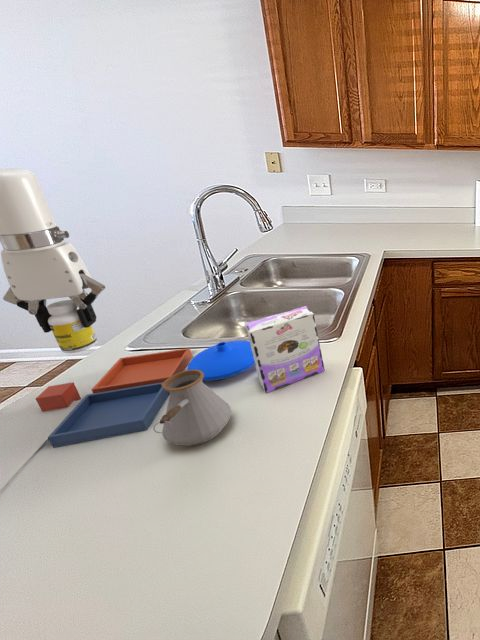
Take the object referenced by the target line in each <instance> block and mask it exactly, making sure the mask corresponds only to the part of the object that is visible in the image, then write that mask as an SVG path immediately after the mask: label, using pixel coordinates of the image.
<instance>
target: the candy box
mask: <svg viewBox="0 0 480 640" xmlns="http://www.w3.org/2000/svg"><path fill="white" fill-rule="evenodd" d="M244 326H245V330H246V333H247V338H248V341H249V342H250V345H251V349H252V353H253V357H254V361H255V364H254V365H255V369H256V372H257V376H258V380H259V384H260V385H261V387H262V389H263V391H264V394H268V393H271V392H274V391H277V390H278V389H281V388H284V387H286V386H288V385H291V384H294V383H298V382H299V381H301V380H304V379H306V378H309V377H311V376H314V375H316V374H320V373H322V372H324V371H325V364H324V359H323V355H322V349H321V345H320V339H319V335H318V328H317V324H316V318H315V313H314V312H313V311H311V309H310V308H309V307H308V306H307V305H303V306H301V307H297V308H294V309H291V310H287V311H283V312H280V313H276V314H272V315H268V316H265V317H263V318H258V319H254V320H252V321H251V320H250V321H247V322H244Z"/></svg>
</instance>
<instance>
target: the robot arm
mask: <svg viewBox="0 0 480 640" xmlns="http://www.w3.org/2000/svg"><path fill="white" fill-rule="evenodd" d="M68 238H70V233H69V231H67V230H61V229H60V227H59V226H58V224H57V222H56V219H55V218H54V216H53V213H52V211H51V208H50V205H49V202H48V201H47V199H46V195H45V194H44V191H43V189H42V186H41V184H40V182H39V179H38V177H37V176H36V174H35V173H33V172H32V171H31V170H29V169H27V168H0V245H1V246H2V250H0V257H1V263H2V267H3V271H4V274H5V278H6V279H7V282H8V285H9V287H8V290H7V291H6V292H5V294H4V295H3V297H2V300H3V301H4V302H7V303H9V304H11V305H16V306H17V307H18V308H20V309H22V310H25V311H27V312H28V314H30V315H32V316H34V317H35V318H36V319H35V320H36V321H37V323H38V325H39V328H41V329H42V331H43V333H45V334H46V333H50V332H52V330H51V328H50V326H49V323H48V319H49V317H50V316H52V315H51V314H50V313H49V312H48V310H47V300H52V299H60V298H61V299H62V298H69V300H72V301H73V302H74V303H75V304H76V305H77V306H78V308H77V309H78V310H77V314H78V316H79V318H80V321H81V323H82V325H83V327H85V328H87V327H90V326H91V327H92V325H93V324H95V323H96V322H97V315H96V312H95V309H94V307H93V305H92V304H93V303H94V302H95V300H96V299H97V298H98V297H99V295H100V294H101V293H103V291H105V289H106V286H105V284H103V283H101V282H99V281H98V280H95V279H94V278H92V275H91V273H90V272H89V270H88V268H87V265H86V264H85V262H84V261H83V259H82V257H81V255H80V254H79V252H78V251H77V249H76V248H75V247H74V245H73V244H72V243H71V242H70V241H64V240H65V239H68ZM86 289H90V292H89V293H88V292H87V291H86Z"/></svg>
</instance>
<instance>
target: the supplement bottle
mask: <svg viewBox="0 0 480 640" xmlns="http://www.w3.org/2000/svg"><path fill="white" fill-rule="evenodd" d="M46 307H47V310H48V312H49V313H50V314H51V315H52V316H50V317H49V319H48V323H49V326H50V328H51V332H52V334H53V337H54V338H55V341H56V342H57V344H58V347H59V348H60V350H61V352H62V353H65V354H75V353H80V352H83V351H86V350H88V349H91V348H92V347H94V346H95V345H97V343H98V339H97V336H96V334H95V331H94V329H93V327H92V325H91V326H90V327H87V328H85V327H83V325H82V323H81V321H80V318H79V316H78V314H77V310H78V309H79V307H78V306H77V305H76V304H75V303H74V302H73V301H72V300H71V299H64V300H59V301H54V302H52V303H50V304H48V305H46Z"/></svg>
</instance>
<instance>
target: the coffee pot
mask: <svg viewBox="0 0 480 640" xmlns="http://www.w3.org/2000/svg"><path fill="white" fill-rule="evenodd" d="M203 377H204V373H203V372H202V371H201V370H196V369H195V370H186V369H185V370H184V371H183V372H180V373H177V374H175V375H173V376H171V377H170V378H168V379H167V380H165V381H164V382H163V383H162V384H161V386H162V387H163V388H164V389H165V390H167V391H169V392H170V393H169V398H168V402H167V408H166V412H165V414H163V415H162V416H161V418H160V420H159V422H157V423H156V424H154V426H153V431H154V433H157V434H161V435H162V437H163V439H164V440H165V441H167V442H169V443H170V444H172V445H175V446H181V447H183V446H185V447H192V446H199V445H201V444H204V443H207V442H208V441H211V440H212V439H214V438H215V437H217V436H218V435H219V434H220V433H221V431H222V430H223V429H224V428H225V427H226V425H227V424H228V423H229V420H230V419H231V415H232V407H231V406H230V405H229V404H228V402H226V401H225V400H224V399H223V398H222V397H220V396H219V395H218V394H217V393H216V392H214V390H212V389H211V388H210V387H209V386H207V384H205V383H204V382H203V380H202V379H203ZM157 425H162V431H157V430H156V429H155V428H156V426H157Z"/></svg>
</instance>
